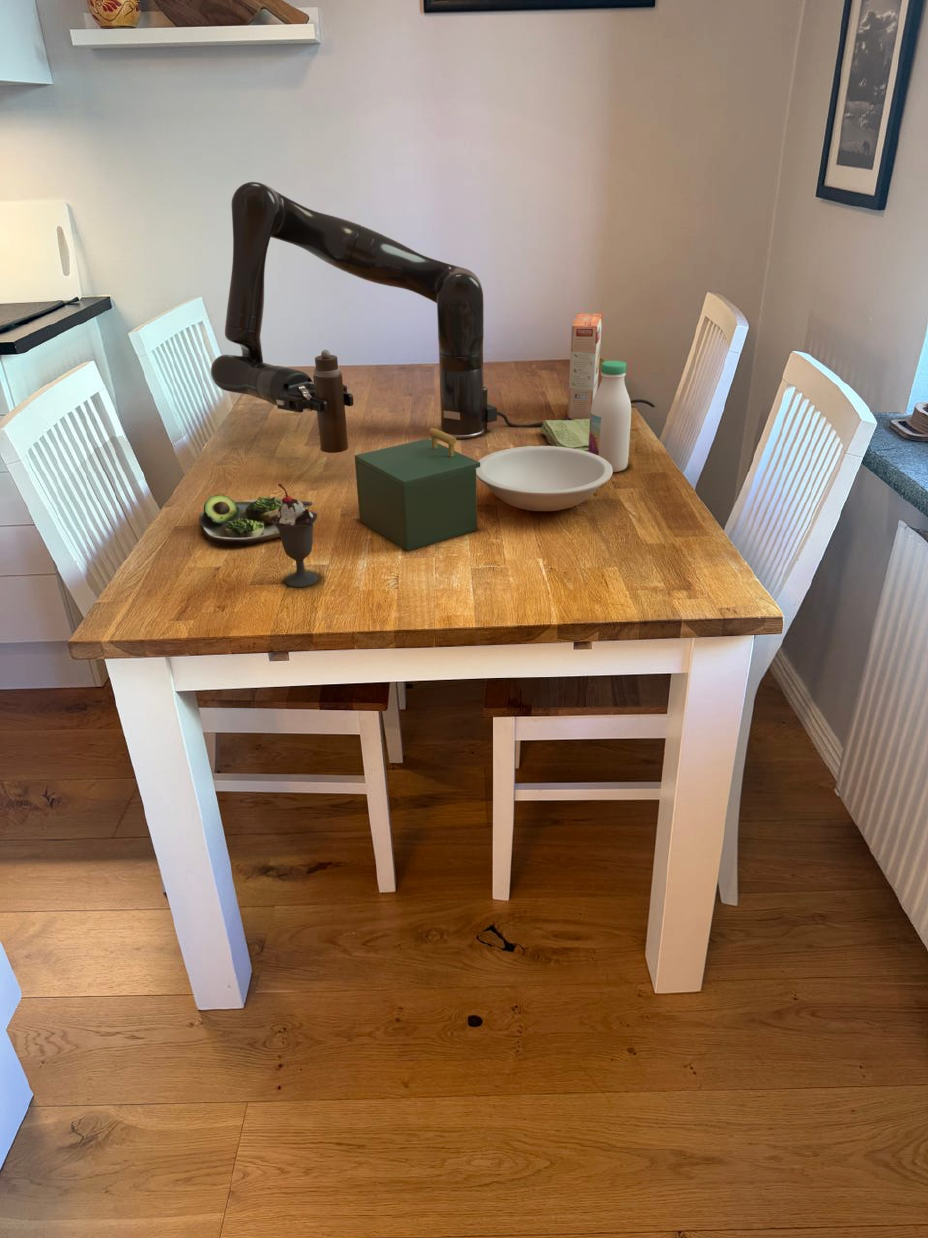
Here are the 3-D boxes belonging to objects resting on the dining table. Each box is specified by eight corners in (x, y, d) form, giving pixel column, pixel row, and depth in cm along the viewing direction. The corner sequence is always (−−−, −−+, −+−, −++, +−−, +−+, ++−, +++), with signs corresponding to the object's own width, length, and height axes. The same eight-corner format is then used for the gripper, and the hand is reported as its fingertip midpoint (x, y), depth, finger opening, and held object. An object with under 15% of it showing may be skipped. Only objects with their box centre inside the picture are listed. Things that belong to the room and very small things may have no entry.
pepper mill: (340, 442, 177) (331, 345, 168) (353, 449, 173) (345, 350, 164) (315, 447, 174) (305, 349, 165) (328, 454, 171) (318, 354, 162)
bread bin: (426, 502, 164) (423, 443, 159) (477, 530, 153) (476, 468, 148) (359, 520, 158) (354, 460, 152) (407, 551, 146) (404, 486, 141)
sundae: (280, 571, 141) (268, 478, 133) (325, 569, 141) (315, 476, 134) (276, 591, 135) (264, 495, 128) (322, 588, 135) (312, 492, 128)
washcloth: (560, 459, 183) (560, 443, 182) (538, 432, 198) (538, 418, 197) (623, 454, 185) (624, 439, 183) (596, 428, 200) (597, 414, 199)
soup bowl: (607, 534, 151) (609, 496, 148) (463, 525, 155) (462, 488, 152) (613, 482, 171) (615, 448, 168) (486, 476, 176) (486, 442, 172)
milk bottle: (630, 462, 181) (638, 359, 171) (623, 475, 175) (631, 369, 165) (592, 458, 183) (597, 356, 174) (583, 471, 177) (588, 366, 167)
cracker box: (593, 422, 204) (598, 325, 194) (566, 421, 205) (569, 324, 195) (598, 404, 216) (603, 312, 206) (572, 403, 217) (576, 311, 207)
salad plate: (300, 496, 168) (298, 472, 166) (330, 531, 154) (327, 506, 151) (193, 515, 161) (188, 490, 159) (213, 554, 147) (209, 527, 144)
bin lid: (427, 442, 160) (426, 418, 158) (480, 467, 148) (480, 441, 146) (354, 459, 152) (352, 435, 150) (404, 486, 141) (402, 460, 139)
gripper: (250, 375, 172) (304, 391, 161) (312, 360, 181) (368, 375, 170) (255, 414, 176) (309, 433, 165) (316, 398, 184) (371, 415, 174)
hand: (338, 403), depth 168 cm, fingers closed on pepper mill, 5 cm apart
